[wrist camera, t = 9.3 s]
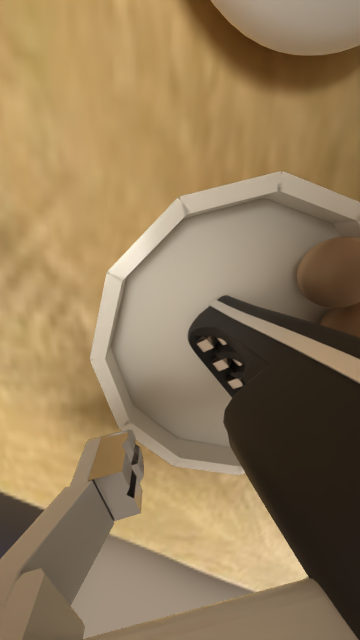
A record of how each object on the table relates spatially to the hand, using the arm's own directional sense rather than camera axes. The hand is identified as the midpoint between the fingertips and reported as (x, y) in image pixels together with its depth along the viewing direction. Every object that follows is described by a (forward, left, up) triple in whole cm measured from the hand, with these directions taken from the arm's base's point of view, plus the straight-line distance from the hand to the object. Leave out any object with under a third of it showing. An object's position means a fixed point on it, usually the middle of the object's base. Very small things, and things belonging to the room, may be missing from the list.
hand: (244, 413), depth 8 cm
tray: (-2, 0, -6) cm, 6 cm away
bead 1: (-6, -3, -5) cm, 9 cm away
